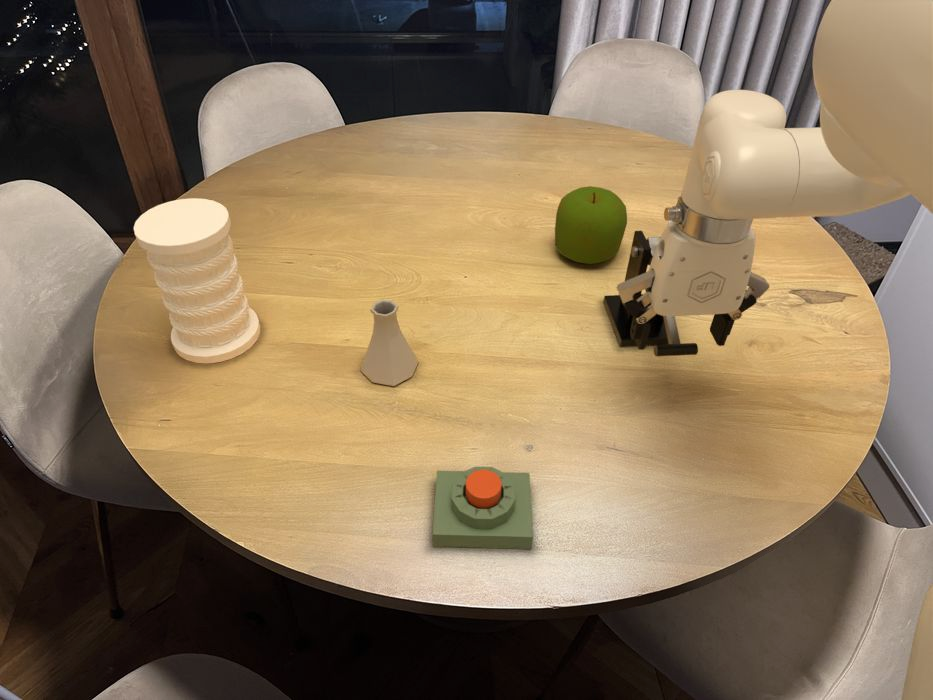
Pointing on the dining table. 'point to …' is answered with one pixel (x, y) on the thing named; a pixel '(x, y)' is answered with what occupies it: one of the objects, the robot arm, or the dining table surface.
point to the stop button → (483, 488)
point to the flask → (388, 348)
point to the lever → (670, 326)
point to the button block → (482, 513)
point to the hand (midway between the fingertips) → (677, 340)
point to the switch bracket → (616, 308)
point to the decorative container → (198, 279)
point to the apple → (590, 225)
